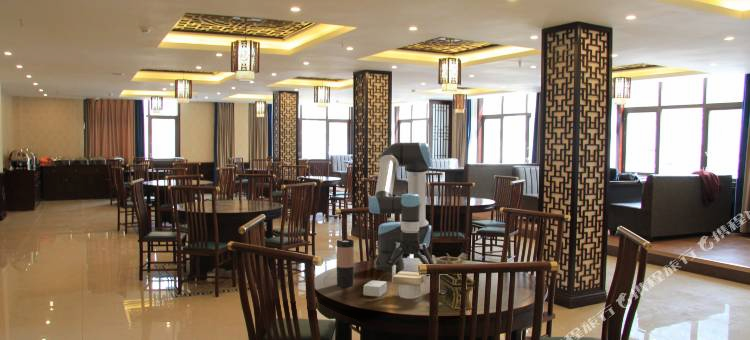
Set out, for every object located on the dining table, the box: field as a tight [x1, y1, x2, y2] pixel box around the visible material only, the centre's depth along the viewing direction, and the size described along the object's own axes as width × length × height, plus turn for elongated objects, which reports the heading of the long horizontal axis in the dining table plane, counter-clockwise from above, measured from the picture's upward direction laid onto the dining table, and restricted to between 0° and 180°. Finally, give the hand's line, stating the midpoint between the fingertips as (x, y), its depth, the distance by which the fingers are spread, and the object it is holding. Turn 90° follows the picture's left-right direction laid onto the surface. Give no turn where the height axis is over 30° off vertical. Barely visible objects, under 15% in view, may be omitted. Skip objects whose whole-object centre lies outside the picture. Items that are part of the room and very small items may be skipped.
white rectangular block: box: [363, 279, 388, 298], centre depth 238 cm, size 10×7×4 cm
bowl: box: [398, 284, 421, 300], centre depth 233 cm, size 9×9×6 cm
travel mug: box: [336, 238, 355, 288], centre depth 251 cm, size 8×8×20 cm
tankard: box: [435, 252, 468, 294], centre depth 244 cm, size 20×13×15 cm, turn 136°
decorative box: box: [440, 252, 474, 310], centre depth 222 cm, size 20×10×20 cm, turn 13°
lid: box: [392, 270, 424, 287], centre depth 233 cm, size 11×11×3 cm
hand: (409, 282), depth 233 cm, fingers open, 13 cm apart
